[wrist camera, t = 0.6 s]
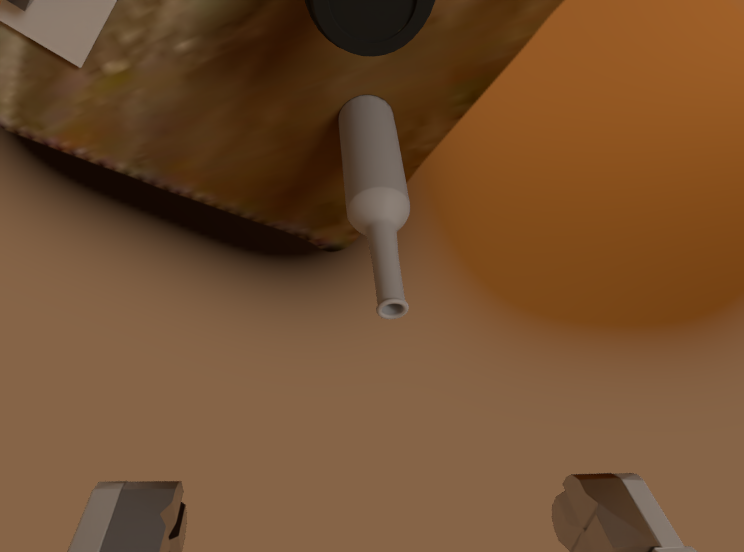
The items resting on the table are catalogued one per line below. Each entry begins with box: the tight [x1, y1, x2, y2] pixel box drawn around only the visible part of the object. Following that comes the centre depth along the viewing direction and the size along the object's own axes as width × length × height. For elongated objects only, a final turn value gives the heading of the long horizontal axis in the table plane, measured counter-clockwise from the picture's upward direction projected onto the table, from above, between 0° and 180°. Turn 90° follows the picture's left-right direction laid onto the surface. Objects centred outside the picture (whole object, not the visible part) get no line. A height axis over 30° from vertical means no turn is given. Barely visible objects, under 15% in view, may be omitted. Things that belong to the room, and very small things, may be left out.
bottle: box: [338, 95, 410, 319], centre depth 52 cm, size 7×7×28 cm
